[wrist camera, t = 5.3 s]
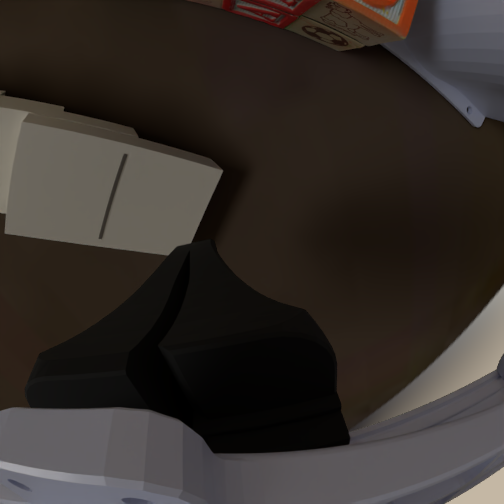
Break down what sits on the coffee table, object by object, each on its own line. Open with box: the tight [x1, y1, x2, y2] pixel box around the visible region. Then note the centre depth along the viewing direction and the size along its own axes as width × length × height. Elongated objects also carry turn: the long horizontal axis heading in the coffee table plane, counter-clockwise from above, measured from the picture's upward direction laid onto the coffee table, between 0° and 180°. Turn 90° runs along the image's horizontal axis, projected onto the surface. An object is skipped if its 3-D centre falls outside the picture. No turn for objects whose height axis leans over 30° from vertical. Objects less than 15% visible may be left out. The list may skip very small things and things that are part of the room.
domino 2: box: [5, 113, 223, 255], centre depth 13 cm, size 2×5×9 cm
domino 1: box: [0, 100, 139, 213], centre depth 12 cm, size 2×5×9 cm
